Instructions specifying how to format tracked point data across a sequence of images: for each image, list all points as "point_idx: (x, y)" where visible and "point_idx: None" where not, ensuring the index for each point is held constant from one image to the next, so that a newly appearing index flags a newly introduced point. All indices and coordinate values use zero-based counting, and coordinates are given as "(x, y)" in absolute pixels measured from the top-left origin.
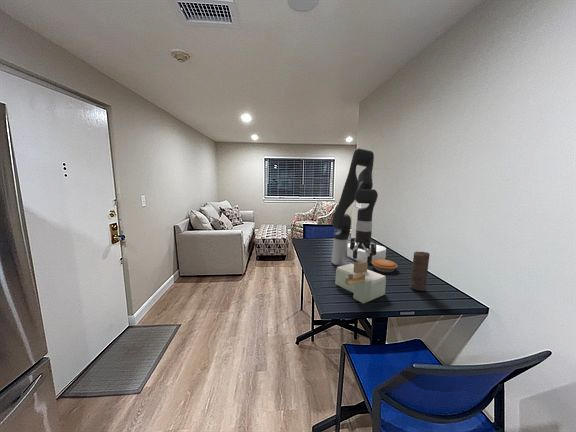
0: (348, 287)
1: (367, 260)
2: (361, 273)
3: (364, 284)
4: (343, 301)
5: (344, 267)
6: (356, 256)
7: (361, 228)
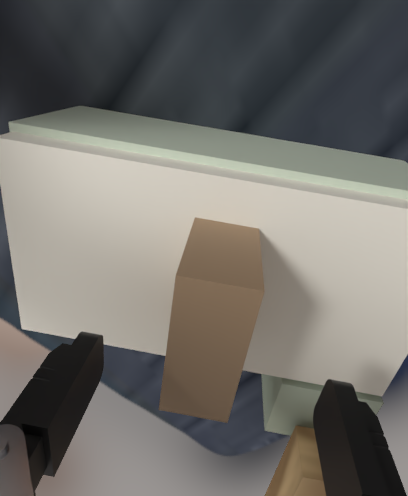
0: None
1: (324, 456)
2: (321, 485)
3: None
4: (240, 376)
5: (59, 296)
6: (91, 361)
7: None
